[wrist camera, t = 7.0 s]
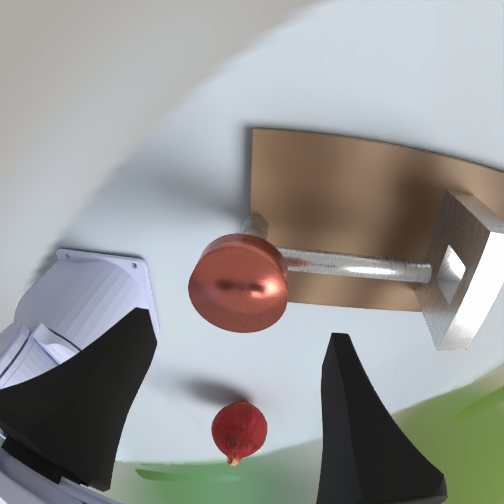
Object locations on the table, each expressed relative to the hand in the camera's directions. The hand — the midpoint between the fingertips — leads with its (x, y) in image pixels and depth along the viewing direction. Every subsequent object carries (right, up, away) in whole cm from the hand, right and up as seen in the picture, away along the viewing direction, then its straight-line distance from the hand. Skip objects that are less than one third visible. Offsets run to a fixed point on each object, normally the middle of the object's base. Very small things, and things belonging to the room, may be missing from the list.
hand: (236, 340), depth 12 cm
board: (+10, +5, +8) cm, 14 cm away
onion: (0, -13, +20) cm, 24 cm away
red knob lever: (+5, +5, +7) cm, 10 cm away
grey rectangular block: (+14, +4, +7) cm, 16 cm away
